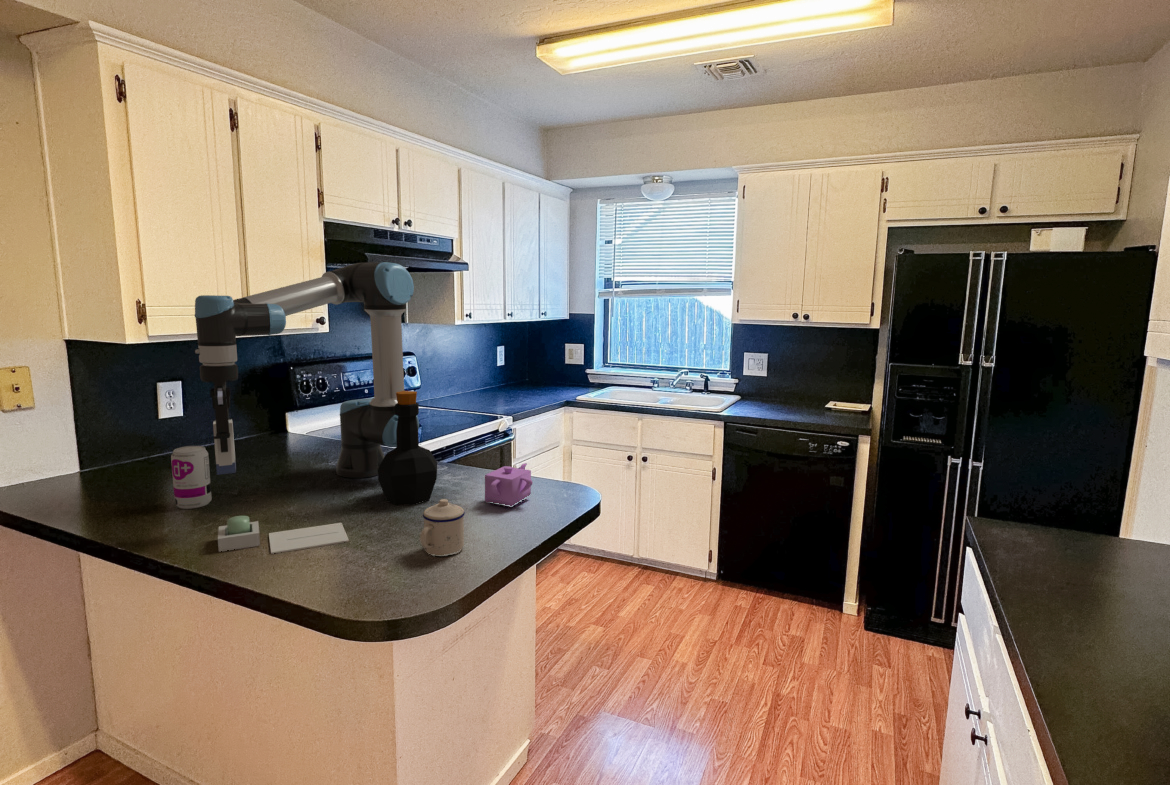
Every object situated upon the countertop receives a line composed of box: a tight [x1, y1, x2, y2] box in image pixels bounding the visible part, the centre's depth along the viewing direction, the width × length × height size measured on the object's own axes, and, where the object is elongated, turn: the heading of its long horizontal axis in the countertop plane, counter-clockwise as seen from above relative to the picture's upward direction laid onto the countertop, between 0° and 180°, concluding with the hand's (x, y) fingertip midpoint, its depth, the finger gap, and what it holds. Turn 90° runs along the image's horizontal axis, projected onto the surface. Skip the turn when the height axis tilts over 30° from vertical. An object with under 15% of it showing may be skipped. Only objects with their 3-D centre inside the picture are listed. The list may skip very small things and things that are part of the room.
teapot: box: [484, 462, 533, 506], centre depth 172 cm, size 18×14×10 cm
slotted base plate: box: [268, 522, 350, 555], centre depth 145 cm, size 16×12×1 cm
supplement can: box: [170, 445, 213, 510], centre depth 163 cm, size 8×8×15 cm
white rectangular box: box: [212, 419, 237, 475], centre depth 146 cm, size 4×4×12 cm
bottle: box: [377, 390, 438, 506], centre depth 171 cm, size 16×16×30 cm
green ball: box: [226, 515, 251, 535], centre depth 141 cm, size 4×4×4 cm
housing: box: [217, 520, 261, 553], centre depth 141 cm, size 8×8×3 cm
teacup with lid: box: [419, 498, 466, 555], centre depth 138 cm, size 12×9×12 cm
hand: (225, 462), depth 147 cm, fingers closed on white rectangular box, 4 cm apart
